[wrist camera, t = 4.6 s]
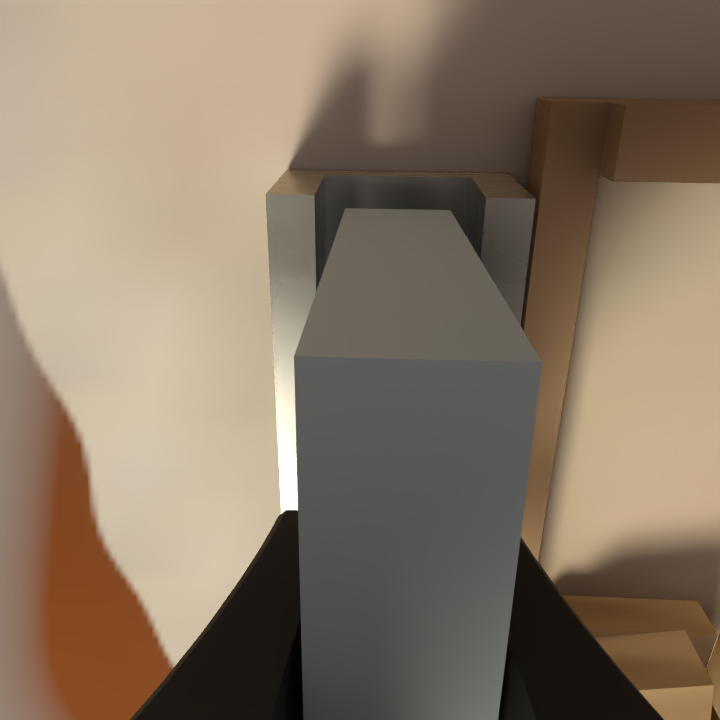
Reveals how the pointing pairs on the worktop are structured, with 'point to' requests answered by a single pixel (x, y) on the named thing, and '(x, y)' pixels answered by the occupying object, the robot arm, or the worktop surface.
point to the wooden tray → (573, 223)
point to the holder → (317, 233)
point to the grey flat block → (409, 473)
